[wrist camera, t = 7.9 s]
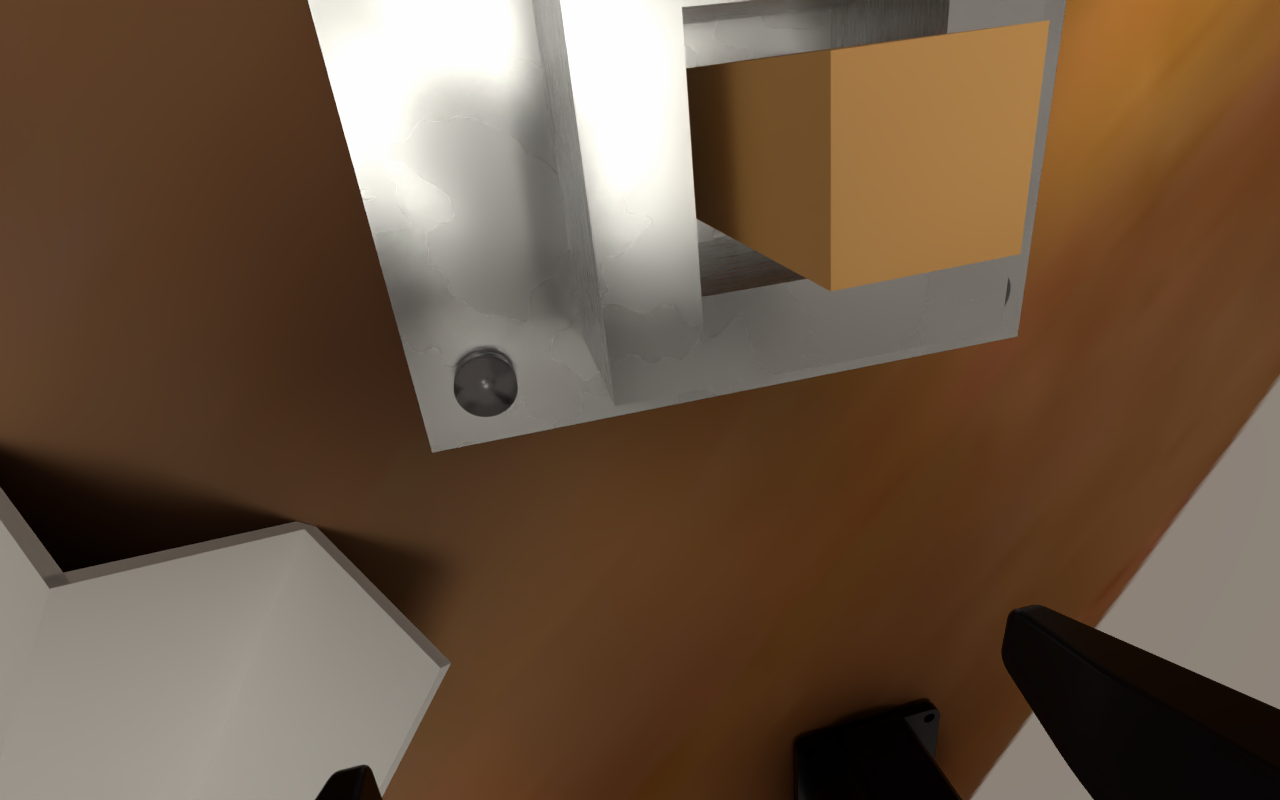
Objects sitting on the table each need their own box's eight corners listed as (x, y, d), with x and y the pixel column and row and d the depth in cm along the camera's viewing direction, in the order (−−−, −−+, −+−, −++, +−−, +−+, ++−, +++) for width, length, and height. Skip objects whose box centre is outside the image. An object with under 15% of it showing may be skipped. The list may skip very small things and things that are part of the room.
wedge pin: (798, 190, 18) (1020, 254, 10) (680, 210, 17) (830, 291, 10) (795, 53, 16) (1049, 20, 9) (667, 70, 16) (830, 50, 9)
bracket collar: (995, 326, 22) (1145, 392, 17) (433, 436, 19) (421, 552, 14) (1067, -231, 16) (1331, -375, 11) (263, -194, 13) (141, -366, 8)
